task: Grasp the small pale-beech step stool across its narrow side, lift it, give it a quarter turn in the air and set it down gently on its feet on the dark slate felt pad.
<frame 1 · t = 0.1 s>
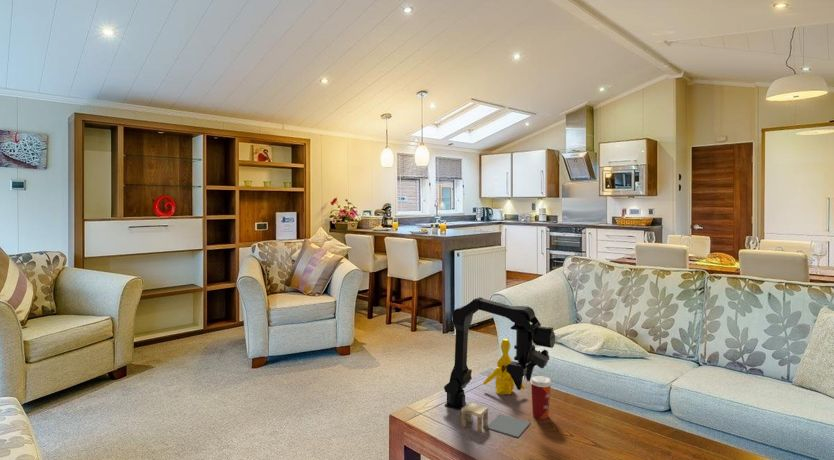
hand: (523, 385, 164), 15 cm above the table, fingers open, 9 cm apart
paper cup: (540, 416, 172), on the table
figure statuette: (504, 392, 193), on the table
stool: (474, 426, 164), on the table
felt pad: (508, 425, 164), on the table
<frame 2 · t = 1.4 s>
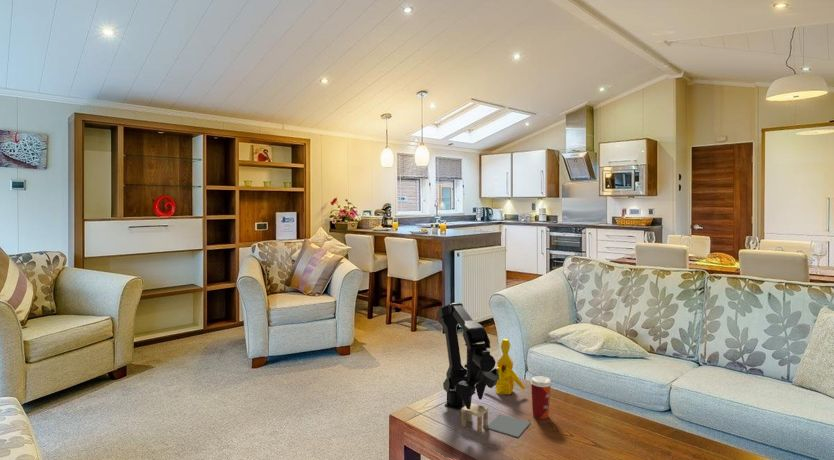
hand: (474, 404, 163), 8 cm above the table, fingers open, 9 cm apart
nothing on the table moved.
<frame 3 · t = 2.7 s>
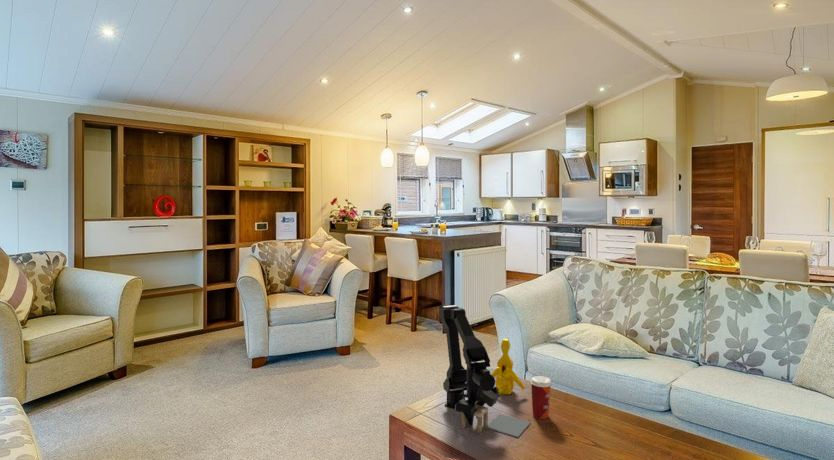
hand: (474, 422, 164), 2 cm above the table, fingers closed on stool, 5 cm apart
stool: (474, 426, 164), on the table, touching gripper
everything else where it was.
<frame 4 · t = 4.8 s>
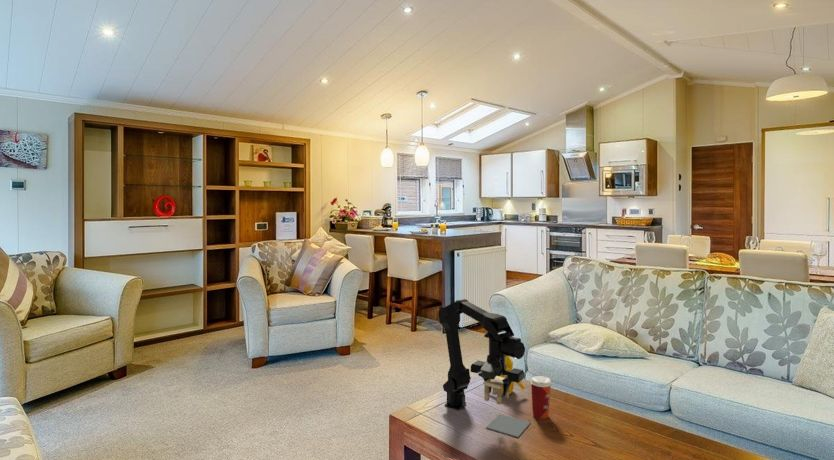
hand: (497, 394, 163), 12 cm above the table, fingers closed on stool, 5 cm apart
stool: (496, 398, 163), point 10 cm above the table, touching gripper
everything else where it was.
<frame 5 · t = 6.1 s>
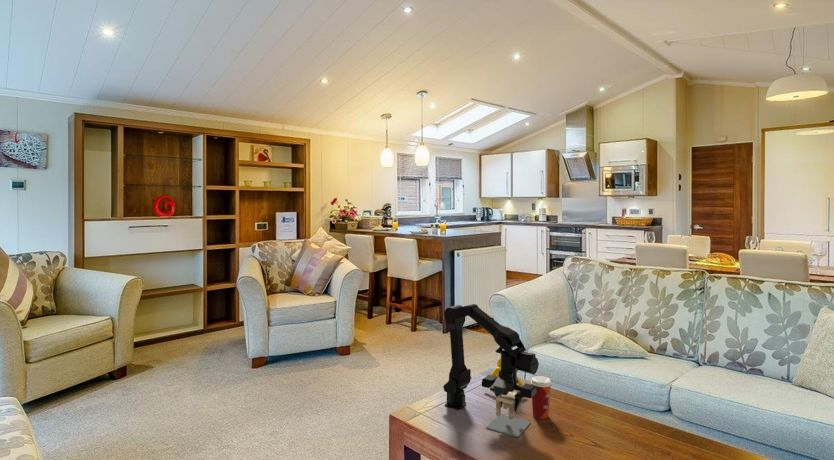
hand: (508, 409, 164), 6 cm above the table, fingers closed on stool, 5 cm apart
stool: (508, 413, 164), point 5 cm above the table, touching gripper
everything else where it was.
when the fingers open (3 cm above the table, at t = 7.1 s): stool stays where it is, resting on felt pad.
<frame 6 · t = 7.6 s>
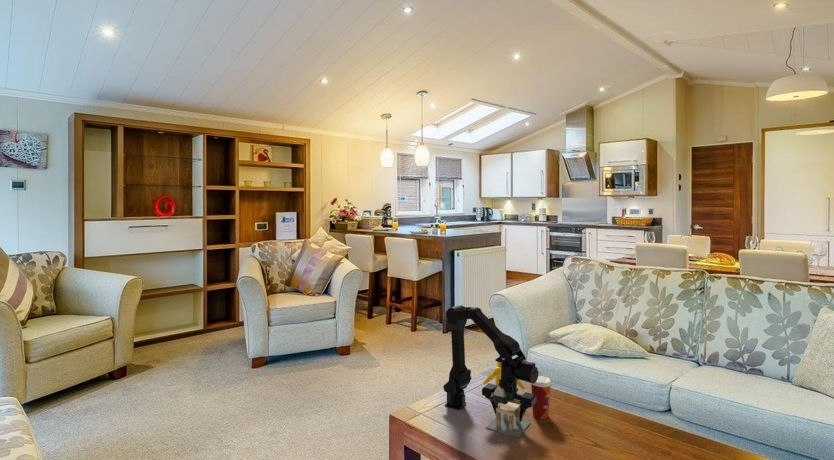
hand: (508, 417, 164), 3 cm above the table, fingers open, 9 cm apart
stool: (508, 424, 164), resting on felt pad
everything else where it was.
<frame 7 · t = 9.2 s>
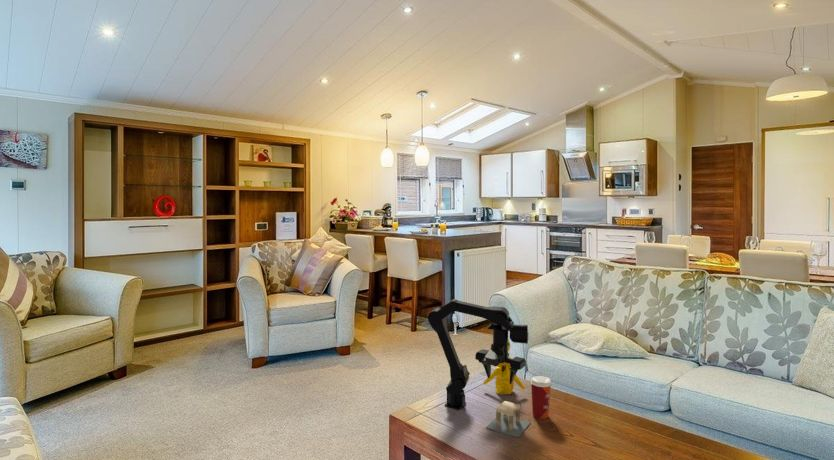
hand: (499, 380, 175), 12 cm above the table, fingers open, 9 cm apart
nothing on the table moved.
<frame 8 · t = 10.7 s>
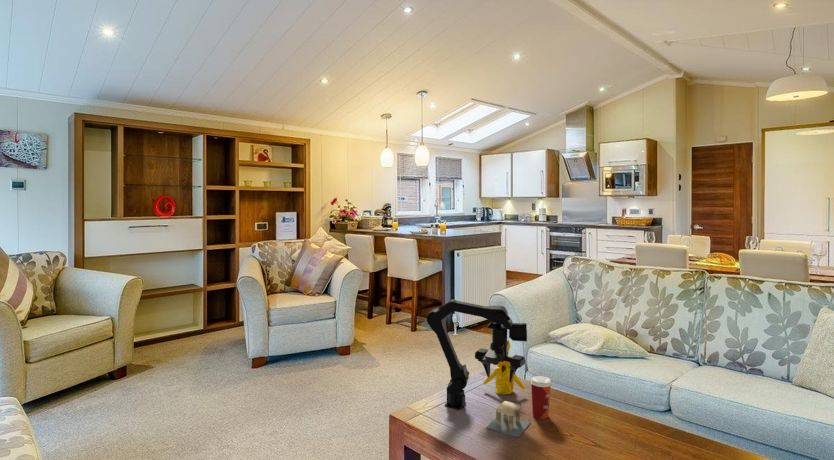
hand: (499, 379, 176), 12 cm above the table, fingers open, 9 cm apart
nothing on the table moved.
at the end: stool inside the target area on the felt pad (0.1 cm from its centre), point 0.4 cm above the felt pad's base; stool tilted 0°; the gripper is holding nothing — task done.
